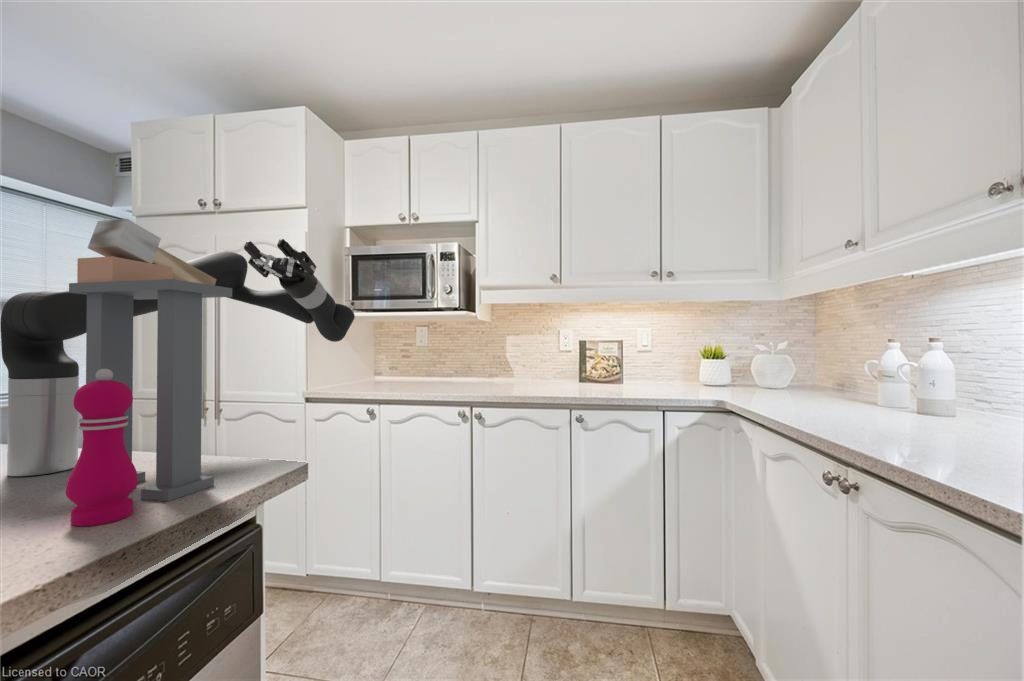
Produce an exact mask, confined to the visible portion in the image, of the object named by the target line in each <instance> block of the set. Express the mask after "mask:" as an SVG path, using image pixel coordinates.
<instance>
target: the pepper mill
mask: <svg viewBox="0 0 1024 681" xmlns="http://www.w3.org/2000/svg"><path fill="white" fill-rule="evenodd" d="M112 377H113V373H112V371H111V370H109V369H100V370H99V371H97V373H96V378H97V380H99V381H94V382H90V383H88V384H86V383H85V384H83V385H82V386H81V387H79V389H78V391H77V392H76V394H75V396H74V401H73V403H74V408H75V409H76V410H77V411H78V414H79V415H81V417H82V418H78V430H80V431H82V447H81V451H80V454H79V456H78V461H77V463H76V465H75V467H74V468H72V471H71V472H70V474H69V476H68V479H67V482H66V488H65V495H66V497H67V499H68V500H69V501H70V502H72V503H73V504H74V505H75V507H73V508H71V510H70V524H71V525H72V526H74V527H83V528H84V527H94V526H95V527H96V526H100V525H106V524H110V523H114V522H117V521H120V520H123V519H126V518H128V517H130V516H131V515H132V514H133V513H134V500H133V498H130V497H129V496H130V495H131V494H132V493H133V492H134V490H136V488H137V486H138V483H139V482H138V477H137V472H136V471H137V469H136V466H135V464H134V463H133V460H132V461H131V459H130V458H129V456H128V453H127V451H126V448H125V445H124V436H123V435H124V426H126V425H128V422H127V418H128V416H127V415H124V414H125V412H126V411H127V410H128V409H129V408H130V406H131V405H132V406H133V402H134V395H132V391H131V389H130V388H129V387H128V386H127V385H125V384H124V383H121V382H118V381H113V380H111V379H112Z"/></svg>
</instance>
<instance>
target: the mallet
mask: <svg viewBox="0 0 1024 681" xmlns="http://www.w3.org/2000/svg"><path fill="white" fill-rule="evenodd" d="M161 240H162V238H161V237H159V236H158V235H156V234H154V233H153V232H151V231H149V230H147V229H146V228H144V227H143V226H140V225H139V224H137V223H135V222H134V221H131V220H130V219H129V218H123V219H110V220H109V219H108V220H106V219H105V220H97V222H96V225H95V228H94V230H93V232H92V235H91V237H90V240H89V243H88V244H87V245H88V246H87V249H88V250H90V251H93V252H95V253H97V254H99V255H101V256H102V257H112V256H113V257H118V258H124V259H129V260H135V261H141V262H146V263H152V264H157V265H163V266H168V267H172V279H175V280H182V281H188V282H195V283H201V284H208V285H214V286H215V283H216V279H215V278H213V277H211V276H210V275H208V274H206V273H204V272H202V271H201V270H199V269H197V268H195V267H193V266H191V265H190V264H188V263H186V262H187V261H184V260H182V259H180V258H179V257H177V256H176V255H173V254H172V253H169V252H168V251H167V250H165V249H162V248H160V247H159V245H160V242H161Z"/></svg>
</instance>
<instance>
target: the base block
mask: <svg viewBox="0 0 1024 681" xmlns="http://www.w3.org/2000/svg"><path fill="white" fill-rule="evenodd" d="M76 265H77V269H76V270H77V275H76V276H77V277H76V278H77V279H76V281H77V282H76V283H88V282H113V281H138V280H163V279H172V267H168V266H163V265H157V264H152V263H146V262H141V261H135V260H129V259H124V258H118V257H113V256H112V257H105V256H99V257H98V256H94V257H81V258H77V264H76Z"/></svg>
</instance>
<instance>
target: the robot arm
mask: <svg viewBox="0 0 1024 681" xmlns="http://www.w3.org/2000/svg"><path fill="white" fill-rule="evenodd" d="M276 246H277V248H278V249H279V251H281V253H283V255H284V256H285V257H275V256H274V255H271V254H265V253H263V252H261V250H260V249H259V248H258V247H257V246H256V245H255V244H254V243H253V241H251V240H247V241H246V242H245V243H244V245H243V249H244V251H245V252H246V253H247V254H248V255H249V259H248V261H247V260H246V259H247V258H245V257H244V256H243V255H242V254H239V253H236V252H235V251H234V252H232V251H216V252H211V253H209V254H206V255H202V256H200V257H197V258H193V259H191V260H188V261H185V262H186V263H188V264H190V265H191V266H193V267H195V268H197V269H199V270H201V271H202V272H204V273H206V274H208V275H210V276H211V277H213V278H215V279H216V283H215V286H221V287H227V288H232V297H226V298H227V299H230V300H234V301H237V302H242V303H245V304H248V305H252V306H253V305H254V306H257V307H260V308H264V309H269V310H272V311H275V312H278V313H280V314H283V315H286V316H288V317H290V318H292V319H295V320H297V321H300V322H302V323H304V324H307V325H308V324H312V323H313V322H314V324H315V327H316V329H317V330H318V332H319V334H320V335H321V336H322V337H323V338H324V339H325V340H327V341H329V342H333V343H337V342H340V341H342V340H343V339H344V338H345V336H346V334H347V333H348V331H349V329H350V328H351V326H352V323H353V322H354V320H355V317H356V316H355V313H354V311H353V310H352V308H350V307H349V306H346V305H344V304H342V303H336V301H335V299H334V298H333V296H331V295H330V293H329V292H328V291H327V290H326V288H325V287H324V285H323V284H322V283H321V281H320V280H319V279H318V278H317V277H316V275H314V273H315V271H316V269H317V265H316V264H315V263H314V261H313V260H312V258H311V257H310V256H309V255H308V253H307V252H306V251H304V250H301V251H298V250H297V249H295V248H293V247H292V245H290V243H289V242H288V241H286V240H285V239H284V238H280V239H279V240H278V242H277V244H276ZM263 259H264V260H265V261H264V260H263ZM270 261H272V263H271V266H270ZM248 264H249V265H250V267H252V268H253V269H254V270H255V271H256V272H258V273H259V274H260V275H261V276H262V277H264V278H268V277H269V275H273V276H275V277H276V278H278V280H279V283H280V284H279V285H280V286H281V288H282V289H274V290H255V289H252V288H250V287H248V286H246V285H245V283H246V279H247V273H248V268H249V267H248ZM154 312H158V299H144V300H137V299H133V318H134V317H138V316H141V315H147V314H151V313H154ZM86 328H87V294H77V293H69V290H49V291H48V290H47V291H46V290H43V291H27V292H20V293H18V294H15V295H14V296H12V297H10V298H9V299H8V300H7V301H6V302H5V304H4V305H3V307H2V310H1V314H0V346H1V357H2V361H3V363H4V365H5V367H6V369H7V370H8V371H7V372H8V373H7V374H8V377H7V378H8V381H7V385H8V386H7V389H8V390H7V398H8V399H7V453H6V454H7V455H6V459H7V461H6V462H7V463H6V474H7V476H8V477H30V476H39V475H46V474H53V473H59V472H63V471H67V470H71V469H74V467H75V465H76V463H77V461H78V459H79V452H78V451H79V428H78V427H79V421H78V420H79V412H78V411H77V410H76V409H75V408H74V403H73V401H74V396H75V394H76V392H77V391H78V389H79V388H80V387H79V382H80V381H79V379H80V378H79V377H80V372H79V371H80V368H79V364H78V361H76V360H74V359H73V358H71V357H70V356H69V355H68V354H67V353H66V351H65V346H64V341H67V340H71V339H74V338H77V337H79V336H82V335H85V334H86Z"/></svg>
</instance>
